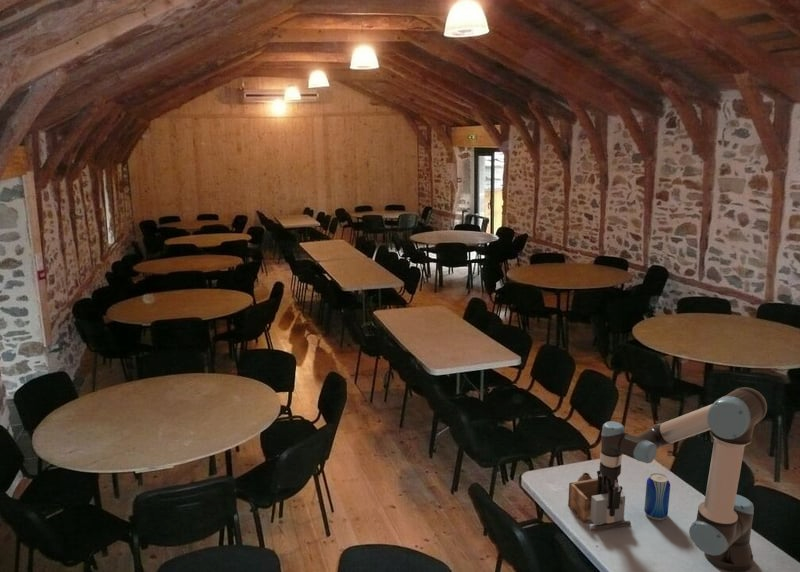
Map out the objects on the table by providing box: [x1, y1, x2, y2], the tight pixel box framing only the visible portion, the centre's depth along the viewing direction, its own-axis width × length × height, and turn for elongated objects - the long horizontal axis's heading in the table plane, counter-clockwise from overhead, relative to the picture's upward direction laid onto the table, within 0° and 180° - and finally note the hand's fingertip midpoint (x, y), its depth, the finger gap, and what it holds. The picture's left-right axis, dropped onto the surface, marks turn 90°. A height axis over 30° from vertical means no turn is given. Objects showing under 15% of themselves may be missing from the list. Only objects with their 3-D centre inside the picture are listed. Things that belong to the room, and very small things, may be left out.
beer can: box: [643, 472, 671, 521], centre depth 250 cm, size 8×8×16 cm
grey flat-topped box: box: [590, 491, 626, 526], centre depth 245 cm, size 5×12×10 cm, turn 105°
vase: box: [576, 472, 593, 482], centre depth 266 cm, size 7×7×9 cm
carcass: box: [567, 477, 632, 533], centre depth 251 cm, size 18×16×10 cm
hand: (606, 519), depth 247 cm, fingers closed on grey flat-topped box, 3 cm apart
